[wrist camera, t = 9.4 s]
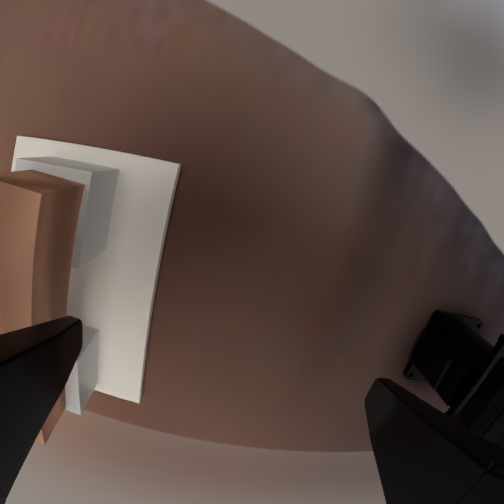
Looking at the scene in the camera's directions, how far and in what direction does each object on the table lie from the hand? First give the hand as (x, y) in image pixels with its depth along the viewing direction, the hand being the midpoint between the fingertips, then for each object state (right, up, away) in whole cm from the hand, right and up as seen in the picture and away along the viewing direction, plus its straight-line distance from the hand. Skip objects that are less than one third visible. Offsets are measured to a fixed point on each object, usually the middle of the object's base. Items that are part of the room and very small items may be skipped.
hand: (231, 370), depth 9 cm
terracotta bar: (-11, 0, +7) cm, 13 cm away
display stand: (-12, +2, +11) cm, 17 cm away
